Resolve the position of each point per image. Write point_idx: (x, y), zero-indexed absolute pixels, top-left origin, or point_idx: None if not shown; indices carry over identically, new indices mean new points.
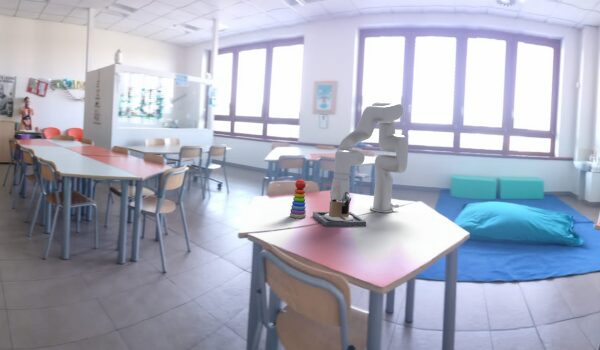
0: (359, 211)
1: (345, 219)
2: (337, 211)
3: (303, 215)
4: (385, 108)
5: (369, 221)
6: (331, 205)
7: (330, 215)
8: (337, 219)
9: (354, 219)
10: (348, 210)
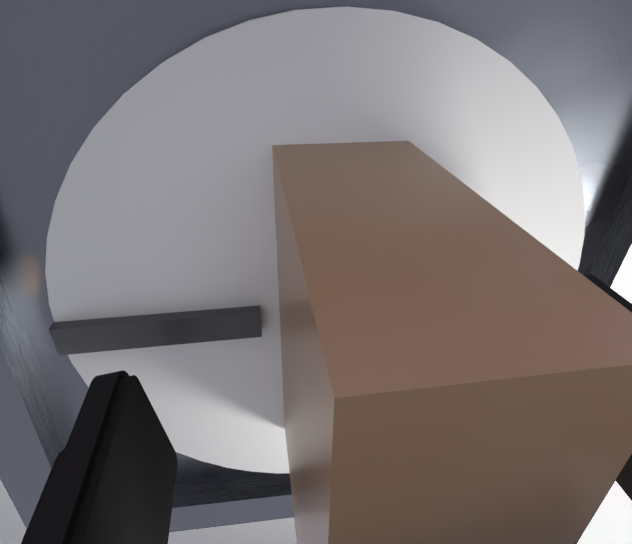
0: (612, 528)
1: (60, 349)
2: (289, 337)
3: None
4: None
5: (272, 538)
6: (379, 280)
7: (329, 149)
8: (54, 209)
9: None
10: (295, 520)
